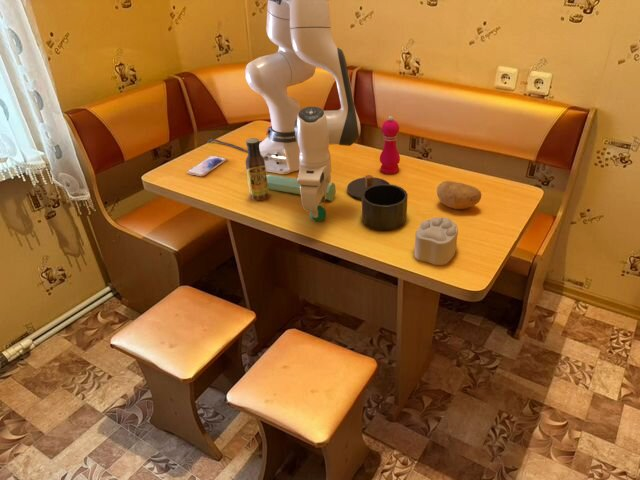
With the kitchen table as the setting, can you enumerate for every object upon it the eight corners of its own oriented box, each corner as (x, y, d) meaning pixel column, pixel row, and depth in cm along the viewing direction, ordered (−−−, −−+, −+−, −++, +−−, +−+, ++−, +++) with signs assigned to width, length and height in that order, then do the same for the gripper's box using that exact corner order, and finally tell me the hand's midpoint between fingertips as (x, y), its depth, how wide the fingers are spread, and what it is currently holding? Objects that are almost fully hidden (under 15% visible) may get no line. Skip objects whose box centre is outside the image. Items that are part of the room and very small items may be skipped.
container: (261, 173, 166) (329, 183, 158) (270, 172, 171) (336, 182, 163) (260, 190, 167) (327, 202, 160) (269, 189, 173) (334, 200, 165)
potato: (475, 218, 152) (479, 195, 147) (431, 209, 157) (433, 187, 152) (482, 203, 159) (486, 181, 154) (440, 195, 164) (442, 173, 159)
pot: (358, 229, 149) (357, 204, 144) (366, 205, 160) (366, 182, 154) (403, 233, 147) (404, 208, 142) (408, 209, 157) (409, 185, 152)
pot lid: (343, 199, 163) (342, 185, 160) (351, 178, 174) (351, 165, 171) (387, 203, 161) (387, 188, 158) (393, 181, 172) (394, 168, 169)
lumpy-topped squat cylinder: (410, 257, 137) (411, 231, 132) (427, 234, 146) (430, 208, 141) (445, 267, 133) (448, 241, 128) (461, 243, 142) (465, 217, 137)
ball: (308, 223, 152) (307, 209, 149) (312, 215, 156) (311, 201, 152) (324, 225, 151) (323, 211, 148) (328, 216, 155) (327, 202, 152)
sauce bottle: (253, 203, 162) (243, 146, 150) (248, 194, 167) (238, 138, 154) (272, 198, 164) (264, 142, 152) (266, 190, 169) (258, 134, 156)
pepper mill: (400, 174, 176) (401, 120, 164) (379, 175, 176) (380, 120, 164) (399, 165, 182) (401, 112, 170) (379, 165, 182) (379, 112, 170)
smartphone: (226, 158, 187) (202, 175, 176) (227, 160, 188) (202, 177, 177) (211, 154, 189) (186, 171, 179) (211, 157, 190) (186, 173, 179)
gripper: (314, 151, 151) (317, 191, 159) (295, 182, 135) (300, 225, 143) (334, 152, 150) (336, 192, 158) (317, 183, 134) (321, 226, 142)
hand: (319, 208), depth 150 cm, fingers open, 8 cm apart
